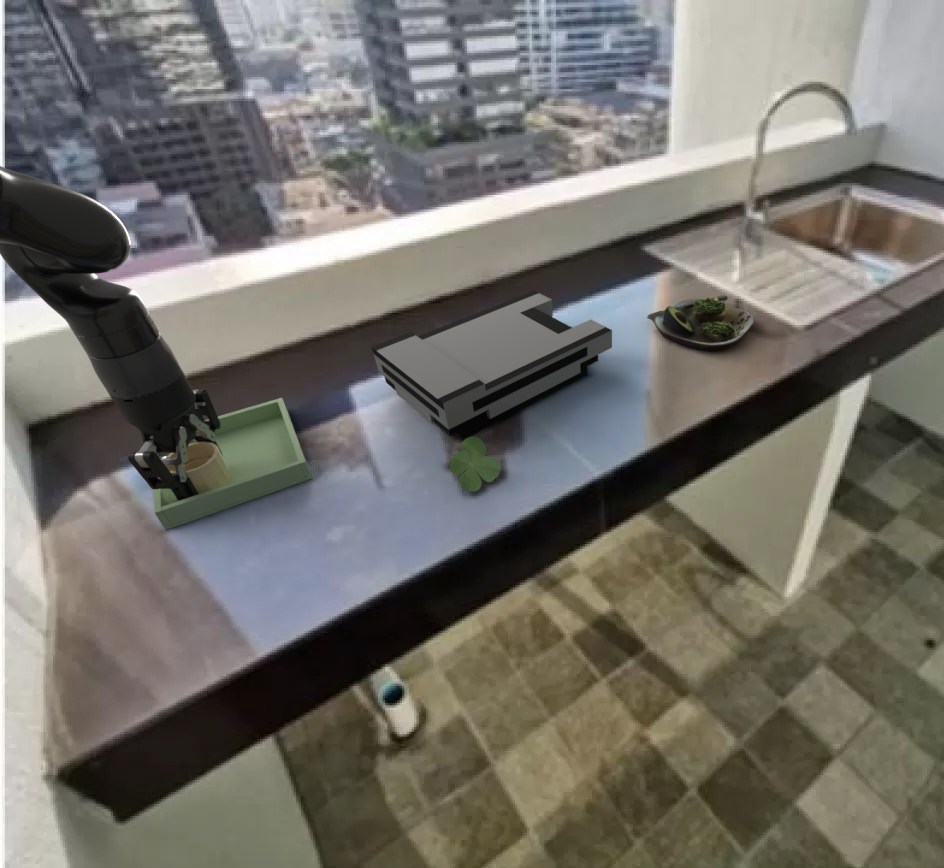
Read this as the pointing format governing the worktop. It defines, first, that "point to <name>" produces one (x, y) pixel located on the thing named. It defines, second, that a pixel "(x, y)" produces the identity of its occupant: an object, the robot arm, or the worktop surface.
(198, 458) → the beige cup
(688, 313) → the salad plate
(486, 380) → the game console
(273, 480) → the tray
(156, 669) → the worktop surface
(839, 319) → the worktop surface
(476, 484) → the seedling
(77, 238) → the robot arm
